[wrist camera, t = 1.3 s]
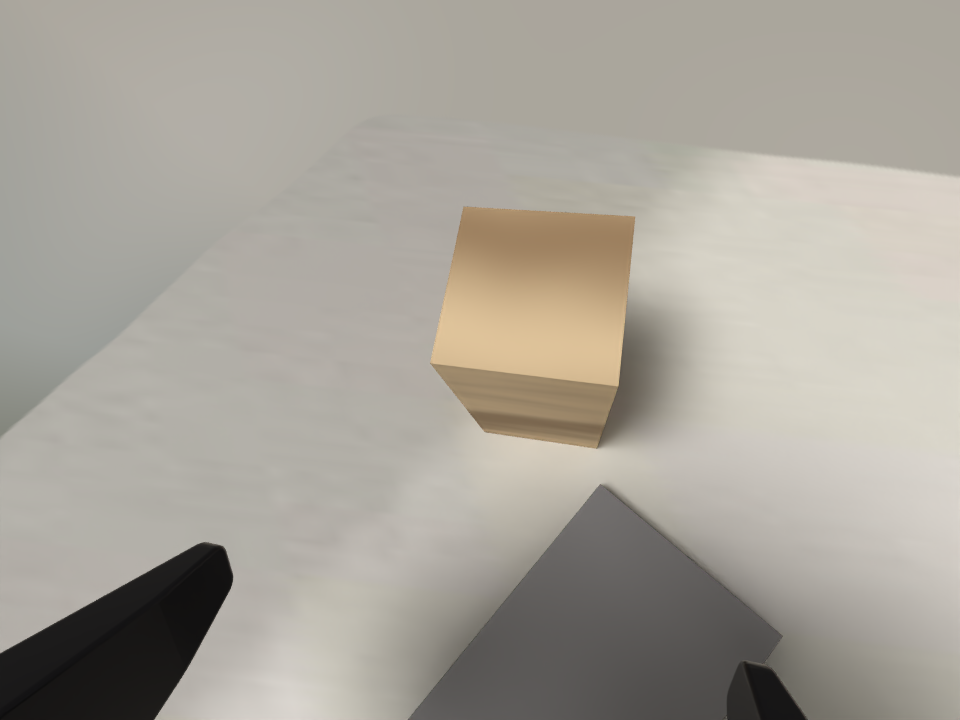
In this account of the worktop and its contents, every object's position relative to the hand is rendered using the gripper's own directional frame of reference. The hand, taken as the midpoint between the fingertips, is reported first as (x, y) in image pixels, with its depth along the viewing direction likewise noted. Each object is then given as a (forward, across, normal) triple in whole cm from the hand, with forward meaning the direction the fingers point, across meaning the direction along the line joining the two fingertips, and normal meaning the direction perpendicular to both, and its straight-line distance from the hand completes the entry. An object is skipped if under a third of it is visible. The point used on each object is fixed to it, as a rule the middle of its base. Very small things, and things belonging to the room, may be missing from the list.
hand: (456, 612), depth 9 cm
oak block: (+15, 0, +4) cm, 15 cm away
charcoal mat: (+7, -3, +12) cm, 14 cm away
